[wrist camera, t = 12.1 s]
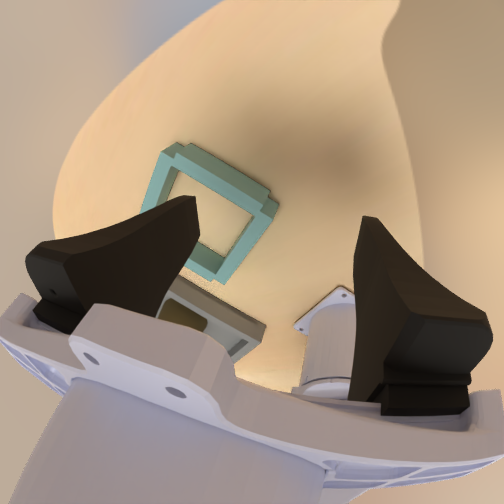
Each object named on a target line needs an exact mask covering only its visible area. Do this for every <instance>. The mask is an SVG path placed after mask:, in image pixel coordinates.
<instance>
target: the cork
mask: <svg viewBox="0 0 504 504" xmlns="http://www.w3.org/2000/svg"><path fill="white" fill-rule="evenodd" d="M157 319H160V320H164V321H168V322H172V323H175V324H179V325H183V326H187V327H190V328H192V329H195V330H197V331H200V332H202V333H203V331H204V330H205V329H206V327H207V324H208V322H207V319H206V318H204V317H203V316H201V315H199V314H197V313H196V312H194V311H192V310H191V309H189V308H187V307H186V306H184V305H182V304H181V303H179V302H177V301H176V300H174V299H172V298H170V299H168V300H166V301H165V302H164V304H163V306H162V309H161V311H160V314H159V316H158V318H157Z"/></svg>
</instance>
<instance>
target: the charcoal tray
mask: <svg viewBox="0 0 504 504" xmlns="http://www.w3.org/2000/svg"><path fill="white" fill-rule="evenodd" d="M170 298H172V299H174V300H176V301H177V302H179V303H181V304H182V305H184V306H186V307H187V308H189V309H191V310H192V311H194V312H196V313H197V314H199V315H201V316H203V317H204V318H206V319H207V322H208V324H207V327H206V329H205V330H204V331H203V333H205V334H207V335H209V336H210V337H212V338H213V339H214V340H216V341H217V342H218V343H220V344H221V345H222V346H224V348H225V349H226V351H227V352H228V354H229V356H230V358H231V359H232V361H233V363H236V362H237V361H238V360H239V359H241V358H242V357H243V356H245V355H246V354H247V353H249V352H250V351H251V350H252V349H254V348H255V347H256V346H257V345H259V344H260V343H261V341H262V338H263V334H264V331H265V327H266V325H264V324H262V323H260V322H259V321H257V320H255V319H253V318H251V317H250V316H248V315H246V314H244V313H243V312H241V311H239V310H237V309H236V308H234V307H232V306H230V305H229V304H227V303H225V302H223V301H222V300H220V299H218V298H217V297H215V296H213V295H211V294H210V293H208V292H206V291H205V290H203V289H201V288H200V287H198V286H196V285H195V284H193V283H191V282H190V281H188V280H186V279H185V278H183V277H182V276H180V275H177V277H176V278H175V280H174V282H173V283H172V285H171V286H170V288H169V290H168V291H167V293H166V295H165V297H164V299H163V301H162V304H161V306H160V308H159V310H158V312H157V315H156V317H155V318H158V316H159V314H160V311H161V309H162V306H163V304H164V302H165V301H166V300H168V299H170Z"/></svg>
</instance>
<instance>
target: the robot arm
mask: <svg viewBox="0 0 504 504" xmlns="http://www.w3.org/2000/svg"><path fill="white" fill-rule="evenodd" d="M199 237H200V229H199V221H198V213H197V205H196V197H195V196H186V195H183V196H179V197H176V198H174V199H171V200H169V201H167V202H165V203H162V204H160V205H158V206H156V207H154V208H152V209H150V210H148V211H145V212H143V213H141V214H139V215H136V216H134V217H132V218H130V219H128V220H125V221H123V222H120V223H118V224H115V225H112V226H109V227H106V228H103V229H100V230H97V231H93V232H90V233H87V234H83V235H78V236H74V237H69V238H64V239H58V240H51V241H44V242H41V243H40V244H38V245H37V246H36V247H35V248H34V249H33V250H32V251H31V252H30V253H29V254H28V255H27V256H26V260H25V263H26V268H27V271H28V273H29V276H30V278H31V279H32V281H33V283H34V285H35V287H36V289H37V290H38V292H39V293H40V295H41V297H42V299H41V300H40V302H39V303H38V302H37V301H36V300H35V299H33V298H32V297H30V296H28V295H26V294H24V293H20V295H19V296H18V297H17V298H16V299H15V300H14V302H13V303H12V304H11V305H10V306H9V307H8V309H7V310H6V311H5V312H4V313H3V315H2V316H1V317H0V343H1V344H2V345H3V346H4V347H5V349H6V350H7V351H8V352H9V353H10V354H11V355H12V356H13V358H14V359H15V360H16V361H17V362H18V363H19V364H20V365H21V366H22V367H23V368H25V369H26V370H27V371H28V372H30V373H31V374H32V375H34V376H35V377H36V378H38V379H39V380H40V381H41V382H43V383H44V384H45V385H47V386H48V387H49V388H51V389H52V390H53V391H55V392H56V393H58V394H59V395H60V396H62V397H63V398H62V400H61V401H60V403H59V405H58V407H57V408H56V410H55V412H54V413H53V415H52V417H51V419H50V421H49V423H48V424H47V426H46V428H45V430H44V431H43V433H42V435H41V437H40V439H39V441H38V443H37V444H36V446H35V448H34V450H33V452H32V454H31V456H30V458H29V460H28V462H27V464H26V466H25V468H24V471H23V473H22V475H21V477H20V479H19V481H18V483H17V485H16V488H15V490H14V492H13V494H12V497H11V499H10V501H9V504H349V502H350V501H351V500H353V499H355V498H356V497H358V496H360V495H361V494H363V493H365V492H366V491H368V490H369V489H372V488H373V489H374V488H388V487H398V486H408V485H416V484H423V483H430V482H436V481H442V480H448V479H453V478H458V477H463V476H466V475H468V474H470V473H472V472H475V471H477V470H479V469H481V468H483V467H485V466H487V465H489V464H492V463H493V462H495V461H497V460H499V459H501V458H503V457H504V411H503V404H502V398H501V392H500V390H499V389H492V390H479V391H475V392H472V393H470V394H468V388H467V385H470V384H471V381H472V380H471V374H470V372H471V371H472V370H473V369H474V368H475V367H476V365H477V364H478V363H479V362H480V361H481V360H482V359H483V357H484V356H485V355H486V354H487V352H488V350H489V349H490V347H491V344H492V342H493V333H492V330H491V327H490V324H489V321H488V319H487V315H486V313H485V312H484V311H482V310H480V309H478V308H477V307H475V306H473V305H471V304H469V303H468V302H466V301H464V300H463V299H461V298H460V297H458V296H457V295H455V294H454V293H452V292H451V291H449V290H448V289H447V288H445V287H444V286H443V285H441V284H440V283H439V282H438V281H436V280H435V279H434V278H432V277H431V276H430V275H429V274H428V273H427V272H426V271H425V270H423V269H422V268H421V267H420V266H419V265H418V264H417V263H416V262H415V261H414V260H413V259H412V258H411V257H410V256H409V255H408V254H407V253H406V251H405V250H404V249H403V248H402V247H401V246H400V245H399V244H398V242H397V241H396V240H395V239H394V238H393V236H392V235H391V234H390V233H389V232H388V230H387V229H386V228H385V227H384V225H383V224H382V223H381V222H380V221H379V219H378V218H375V217H369V216H363V217H362V222H361V226H360V231H359V236H358V240H357V245H356V249H355V253H354V264H353V282H354V294H352V293H351V292H349V291H348V290H346V289H345V288H343V287H338V288H336V289H335V290H334V291H333V292H332V293H330V294H329V295H328V296H327V297H326V298H325V299H323V300H322V301H321V302H320V303H319V304H317V305H316V306H315V307H314V308H313V309H311V310H310V311H309V312H308V313H307V314H305V315H304V316H303V317H302V318H301V319H299V320H298V321H297V322H296V323H295V324H294V329H295V330H297V331H299V332H301V333H303V334H305V335H307V336H308V338H307V344H306V350H305V356H304V361H303V367H302V372H301V378H300V383H299V387H292V391H291V393H287V392H281V391H276V390H271V389H268V388H265V387H262V386H259V385H257V384H254V383H251V382H249V381H246V380H243V379H241V378H238V377H236V376H235V370H234V363H233V361H232V359H231V358H230V356H229V354H228V352H227V351H226V349H225V348H224V346H222V345H221V344H220V343H218V342H217V341H216V340H214V339H213V338H212V337H210V336H209V335H207V334H205V333H202V332H200V331H197V330H195V329H192V328H190V327H187V326H183V325H179V324H175V323H172V322H168V321H164V320H160V319H157V318H155V317H156V315H157V312H158V310H159V308H160V306H161V304H162V301H163V299H164V297H165V295H166V293H167V291H168V290H169V288H170V286H171V285H172V283H173V282H174V280H175V278H176V277H177V275H178V274H179V272H180V271H181V269H182V268H183V266H184V265H185V263H186V261H187V260H188V258H189V257H190V255H191V254H192V252H193V250H194V248H195V246H196V244H197V241H198V239H199ZM343 294H346V295H343Z"/></svg>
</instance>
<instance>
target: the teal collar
mask: <svg viewBox="0 0 504 504" xmlns="http://www.w3.org/2000/svg"><path fill="white" fill-rule="evenodd" d="M179 170H180V171H182V172H183V173H185V174H187V175H188V176H190V177H192V178H193V179H195V180H197V181H198V182H200V183H202V184H203V185H205V186H207V187H208V188H210V189H212V190H213V191H215V192H216V193H218V194H220V195H221V196H223V197H225V198H226V199H228V200H230V201H231V202H233V203H234V204H236V205H238V206H239V207H241V208H243V209H244V210H246V211H247V212H249V213H251V214H252V215H253V217H252V218H251V220H250V221H249V223H248V224H247V226H246V227H245V229H244V230H243V231H242V233H241V234H240V236H239V237H238V239H237V240H236V242H235V243H234V245H233V246H232V248H231V249H230V251H229V252H228V254H227V255H226V257H225V258H224V257H222V256H220V255H219V254H217V253H215V252H214V251H212V250H210V249H209V248H207V247H206V246H204V245H202V244H201V243H199V242H197V244H196V246H195V248H194V250H193V252H192V254H191V255H190V257H189V258H188V260H187V261H186V263H185V265H184V266H185V267H187V268H188V269H190V270H192V271H193V272H195V273H197V274H198V275H200V276H202V277H203V278H205V279H207V280H208V281H210V282H211V281H212V279H215V280H217V281H218V282H220V283H222V284H223V285H225V284H226V282H227V281H228V280H229V278H230V277H231V276H232V274H233V273H234V272H235V270H236V269H237V268H238V266H239V265H240V264H241V262H242V261H243V259H244V258H245V257H246V255H247V254H248V253H249V251H250V250H251V249H252V247H253V246H254V245H255V243H256V242H257V241H258V239H259V238H260V237H261V235H262V234H263V233H264V231H265V230H266V229H267V227H268V226H269V225H270V223H271V222H272V221H273V219H274V217H275V214H276V211H277V209H278V206H279V204H278V203H276V202H275V201H273V200H272V199H270V198H268V195H269V193H270V190H268V189H267V188H265V187H263V186H262V185H260V184H259V183H257V182H255V181H254V180H252V179H251V178H249V177H247V176H246V175H244V174H243V173H241V172H239V171H238V170H236V169H234V168H233V167H231V166H229V165H228V164H226V163H224V162H223V161H221V160H219V159H218V158H216V157H214V156H212V155H211V154H209V153H207V152H206V151H204V150H202V149H200V148H199V147H197V146H195V145H193V144H192V143H190V144H189V145H187V146H186V147H184V146H182V145H180V144H178V143H177V142H176V143H174V144H173V145H171V146H169V147H168V148H166V149H164V150H163V151H161V153H160V155H159V158H158V161H157V163H156V166H155V169H154V172H153V175H152V177H151V180H150V183H149V186H148V189H147V192H146V195H145V198H144V201H143V204H142V208H141V211H140V214H141V213H143V212H145V211H148V210H150V209H152V208H154V207H156V206H158V205H160V204H162V203H165V202H166V200H167V198H168V195H169V193H170V190H171V188H172V185H173V183H174V180H175V178H176V176H177V173H178V171H179Z"/></svg>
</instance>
